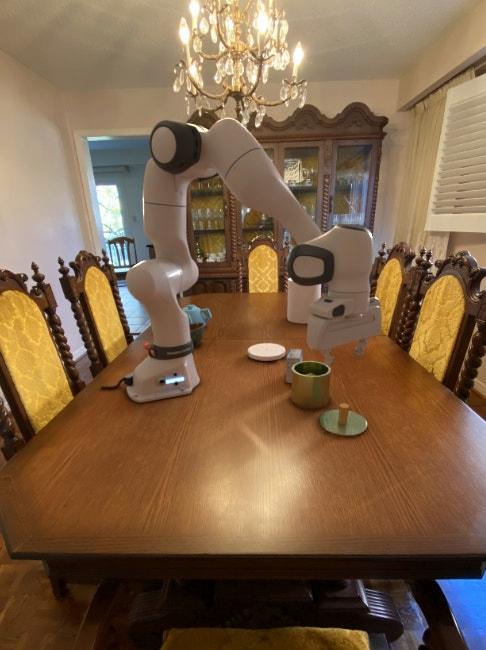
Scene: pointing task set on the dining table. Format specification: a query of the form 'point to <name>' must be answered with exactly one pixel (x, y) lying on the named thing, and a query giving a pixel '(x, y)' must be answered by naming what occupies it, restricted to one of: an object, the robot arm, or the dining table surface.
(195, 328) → the dark green pot
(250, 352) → the plastic lid
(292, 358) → the medicine box
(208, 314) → the teapot
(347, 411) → the lid
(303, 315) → the canister
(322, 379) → the tin
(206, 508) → the dining table surface
